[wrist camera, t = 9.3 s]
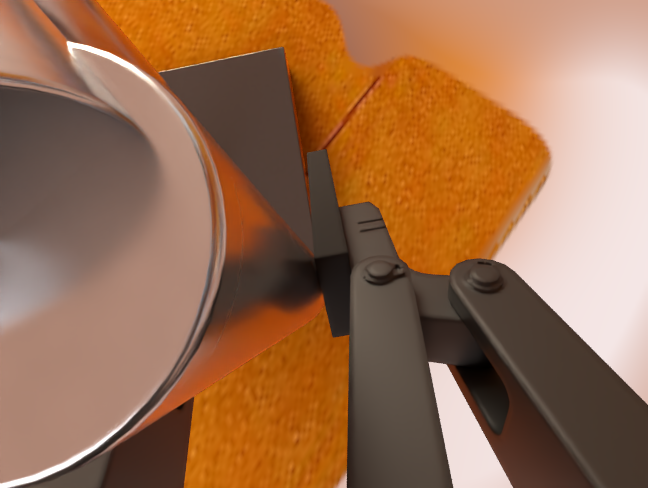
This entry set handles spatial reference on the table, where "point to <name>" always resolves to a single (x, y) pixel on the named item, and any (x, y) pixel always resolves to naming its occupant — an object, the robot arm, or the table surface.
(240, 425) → the table surface
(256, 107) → the tap base
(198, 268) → the spout
